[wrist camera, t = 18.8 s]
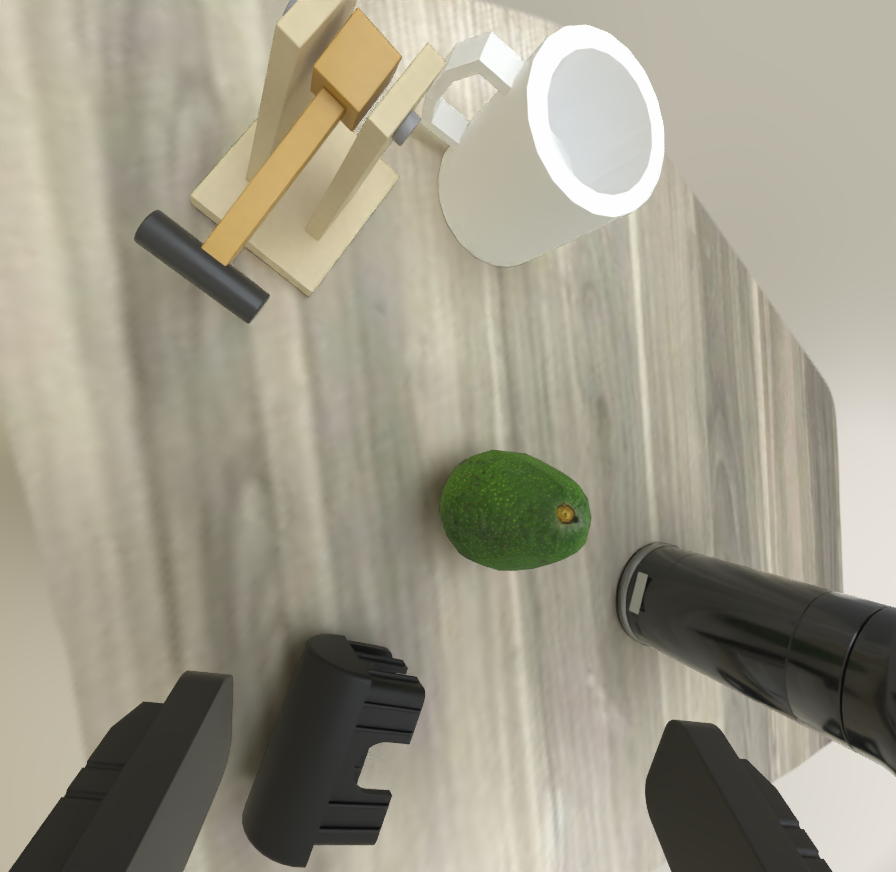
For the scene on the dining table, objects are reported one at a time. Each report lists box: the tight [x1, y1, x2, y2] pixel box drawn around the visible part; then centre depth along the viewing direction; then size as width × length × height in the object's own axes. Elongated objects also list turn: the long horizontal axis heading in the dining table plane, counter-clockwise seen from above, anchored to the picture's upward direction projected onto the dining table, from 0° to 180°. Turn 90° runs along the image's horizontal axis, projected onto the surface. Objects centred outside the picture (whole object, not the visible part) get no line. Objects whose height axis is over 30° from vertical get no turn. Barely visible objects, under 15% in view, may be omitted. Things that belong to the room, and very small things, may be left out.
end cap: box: [242, 634, 425, 868], centre depth 30 cm, size 10×7×7 cm
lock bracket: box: [190, 0, 446, 297], centre depth 25 cm, size 10×8×14 cm
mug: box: [421, 25, 664, 267], centre depth 32 cm, size 14×10×11 cm
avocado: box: [439, 450, 591, 571], centre depth 32 cm, size 8×8×12 cm
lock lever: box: [134, 8, 402, 324], centre depth 20 cm, size 12×5×2 cm, turn 144°
